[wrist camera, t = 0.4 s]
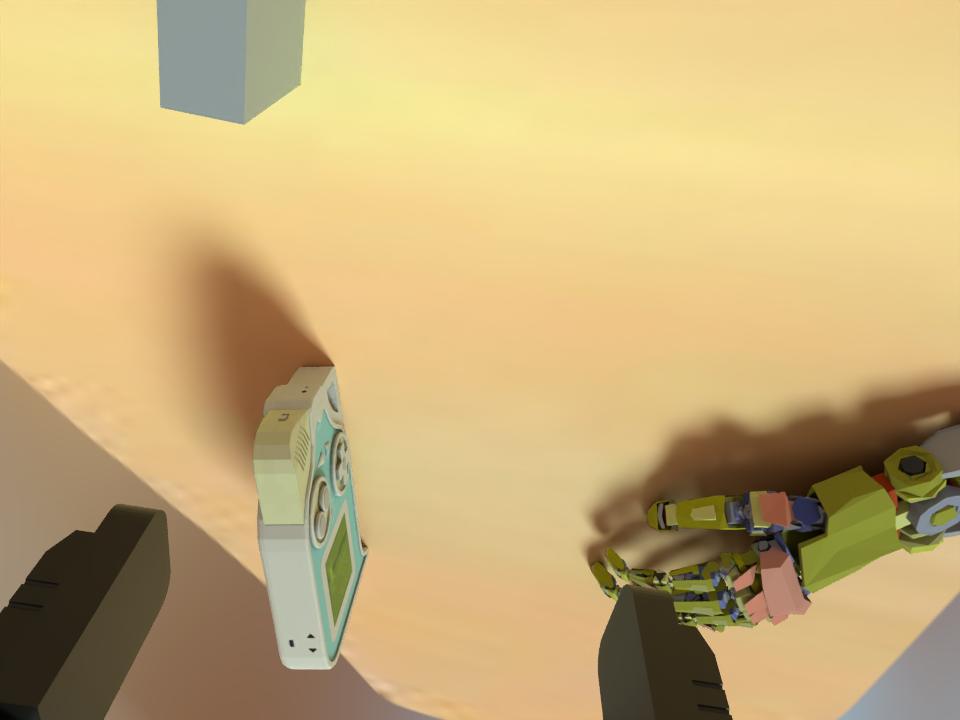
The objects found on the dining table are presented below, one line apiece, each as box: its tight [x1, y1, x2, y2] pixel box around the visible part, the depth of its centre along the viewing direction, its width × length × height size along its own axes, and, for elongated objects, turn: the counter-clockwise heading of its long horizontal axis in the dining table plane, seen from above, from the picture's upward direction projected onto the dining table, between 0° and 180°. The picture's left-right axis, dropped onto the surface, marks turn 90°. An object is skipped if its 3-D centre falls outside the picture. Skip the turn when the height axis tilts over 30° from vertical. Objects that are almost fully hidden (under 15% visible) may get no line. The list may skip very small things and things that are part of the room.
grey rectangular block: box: [157, 0, 306, 125], centre depth 28 cm, size 5×3×8 cm, turn 169°
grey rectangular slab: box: [253, 366, 369, 669], centre depth 40 cm, size 11×3×15 cm
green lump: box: [590, 424, 960, 633], centre depth 44 cm, size 12×7×25 cm
